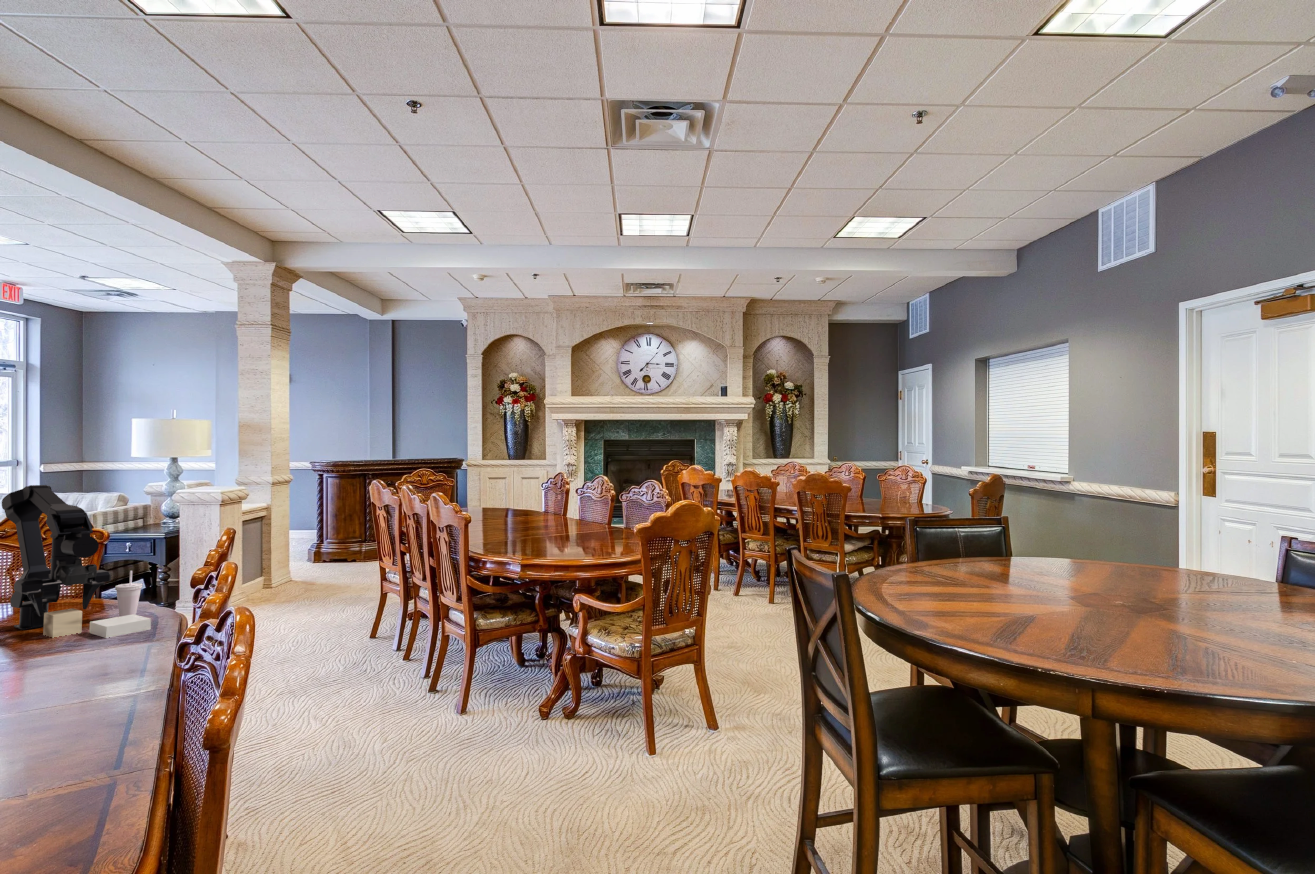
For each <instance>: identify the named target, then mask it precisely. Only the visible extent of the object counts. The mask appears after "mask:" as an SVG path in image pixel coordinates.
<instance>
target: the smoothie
mask: <svg viewBox="0 0 1315 874" xmlns="http://www.w3.org/2000/svg"><path fill="white" fill-rule="evenodd" d="M142 588H143V583H141V582H133V570H129V583H121V584H118V585H115V588H114V590H115V592H116V599H117V608H118V614H119V616H118V617H120V616H126V615H132V614H135V615H137V612H138V605H139V603H140V601H139V600H140V596H141V591H142Z"/></svg>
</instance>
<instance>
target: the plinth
mask: <svg viewBox="0 0 1315 874" xmlns="http://www.w3.org/2000/svg"><path fill="white" fill-rule="evenodd" d="M151 629H152V618H151V617H146V616H141V615H138V614H136V615H135V614H132V615H126V616H120V617H119V616H114V617H110V618H105V619H104V618H103V619H99V620H93V621H90V622H89V634H92V635H95V636H98V637H102V638H103V639H109V637H110V638H115V637H120V636H125V635H130V634H135V633H139V632H141V633H142V632H145V631H149V630H151Z"/></svg>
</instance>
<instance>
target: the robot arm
mask: <svg viewBox="0 0 1315 874" xmlns="http://www.w3.org/2000/svg"><path fill="white" fill-rule="evenodd" d="M1 507H2V509H3V510H4V514H5V516H6V518H7V519H8V520H9V521H11V522H12V523H13V524H14V525H15V528H16V533H17V541H18V545H19V552H20V559H21V565H22V570H23V573H22V574H21V576H20V577H19V579H17V580H16V581H15V582H14V583H13V591H14V592H13V594H12V596H11V597H10V599H9V601H10V607H11V608H16V609H19V623H18V624H14V625H13V628H15V629H17V630H18V629H19V630H21V631H24V630H30V629H39V628H43V627H44V613H47V612H49V604H51V603H58V602H59V598H60V593H61V590H62V586H61V585H63V586H65V587H72V586H73V585H82V602H81V603H82V610H87V608H88V606H89V605H90V602H91V600H92V599H93V596H94V594H95V592H97V590H98V589H99V588H100V587H102V586H105V584H106V583H107V582H111V581H112V574H111V572H110V571H108V570H104V569H98V565H96V564H94V563H93V564H86V565H83V563H82V561H83V560H82V559H87V558H90V557H92V556H94V555H95V554H96V553H97V552H98V551H99V547H100V544H99V542H98V540H97V539H96V538H94V537H93V536H91V534H93V532H94V530H93V528H94V526H93V524H92V521H91V520H90V518H89V515H88V513H87V512H86V511H85V510H84V509H83V508H82V507H80V506H77V505H73V504H68V503H66V502H65V501H64V500H63V499H62V498H61V497H60V496H59V495H57V494H56V493H55V492H54V491H53V490H52V487H51V486H50V485H47V484H32V485H27V486H24V487H23V488H22V489H18V490H15V491H12V492H9V493H8V494H7V495H5V496H4V497H3V498H2V500H1ZM43 514H44V515H45V516H46V520H45V523H46V526H47V527H48V529H49V530H50V532H51V533H50V536H49V537H50V538H51V553H50V554H51V558H49V561H48V562H49V563H50V568H49V567H48V566H47V561H46V556H45V555H46V554H45V550H44V545H43V539H42V533H41V532H42V531H41V526H40V521H39V519H40V518H41V516H42V515H43Z"/></svg>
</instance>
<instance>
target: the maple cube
mask: <svg viewBox="0 0 1315 874" xmlns="http://www.w3.org/2000/svg"><path fill="white" fill-rule="evenodd" d="M82 625H83V611H82V610H80V609H76V608H68V609H60V610H54V611H48V612H47V613H44V626H43V627H42V628H43V631H42V632H43V633H42V634H43V636H45V635H46V636H45V637H47V636H49V637H48V638H50V637H52V638H51V639H55V638H54V637H57V638H60V637H59V636H62V637H66V636H65V635H67V636H72V635H71V634H73V635H76V633H78V634H81V633H82V627H83V626H82Z"/></svg>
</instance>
